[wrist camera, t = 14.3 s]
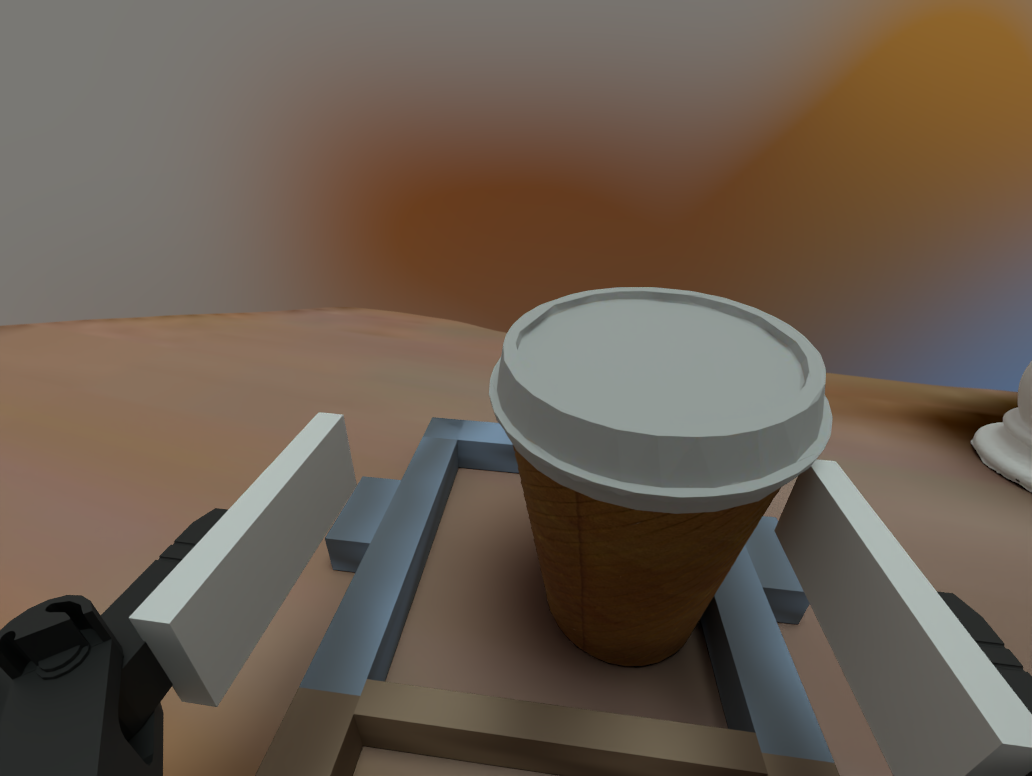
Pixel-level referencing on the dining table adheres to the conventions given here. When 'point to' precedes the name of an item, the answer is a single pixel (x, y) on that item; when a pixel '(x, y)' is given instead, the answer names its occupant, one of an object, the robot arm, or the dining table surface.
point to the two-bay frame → (522, 724)
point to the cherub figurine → (1010, 438)
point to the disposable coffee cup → (651, 452)
